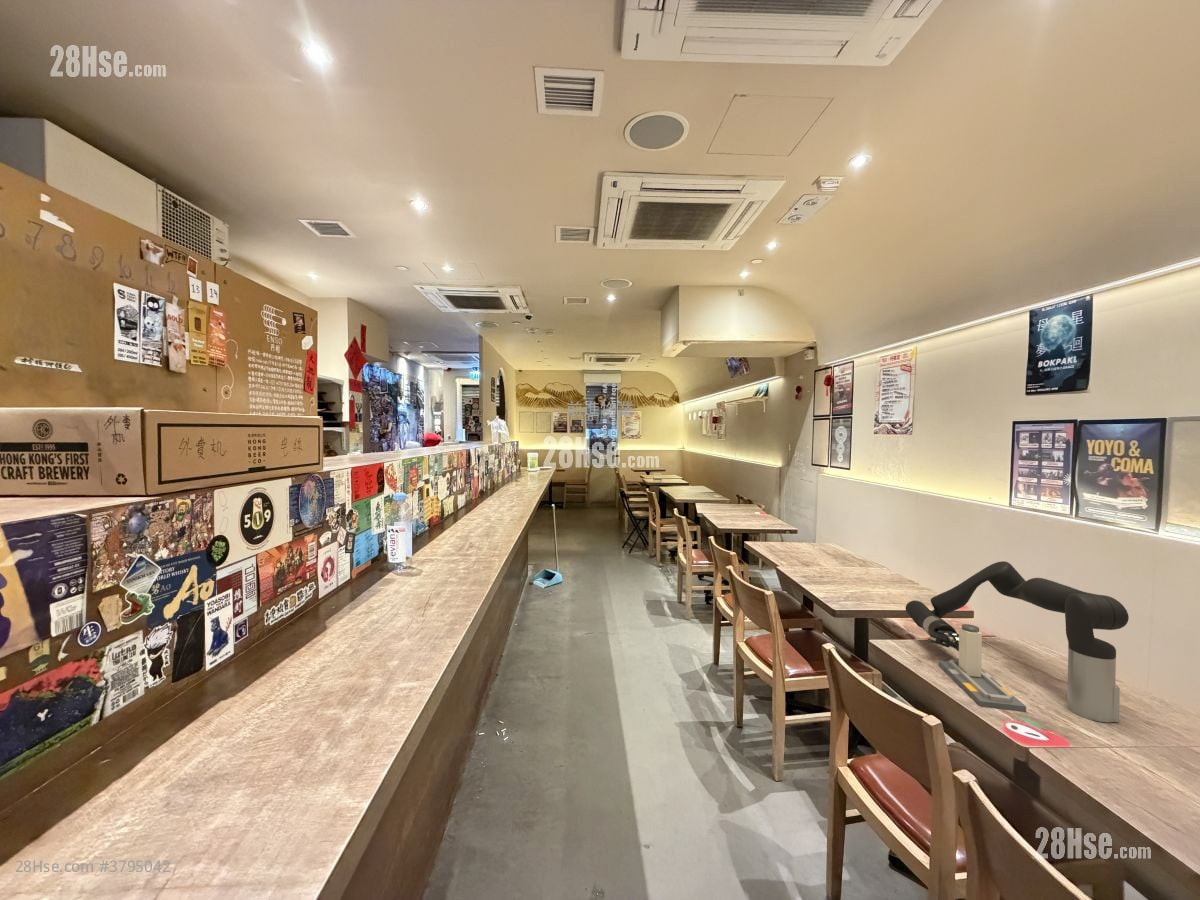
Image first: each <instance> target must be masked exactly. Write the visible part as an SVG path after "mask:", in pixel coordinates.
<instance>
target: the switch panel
mask: <svg viewBox="0 0 1200 900" xmlns="http://www.w3.org/2000/svg"><path fill="white" fill-rule="evenodd" d="M938 666H939V667H940V668H941V669H942V670H943V671H944V672H945V673H946V674H947V675H948V676H949V677H950V678H951V679H952V680H953V681H954V682H955V683H957V685H958V686H959V687H960V688H961V689H962V690H963V691H964V692H966V694H967V695H969V696H970V698H971V699H972V700H973V701H974V702H975V703H976V704H977V705H978V706H979V707H982V708H991V709H998V710H1000V709H1001V710H1008V711H1016V712H1025V713H1026V712H1027V705H1025V704H1024V703H1023V702H1021V701H1020V700H1019V699H1018V698H1017V697H1016V696H1014V694H1013V693H1011V692H1010V691H1009V690H1008V689H1007V688H1005V687H1004V686H1003V685H1001V684H1000V683H999V682H998V681H997V680H996V679H994V678H993V677H992V676H991V675H990V674H989V673H987V671H985V670H983V668H981V677H974V676H968V675H967V674H966V673H965V672H964V671H963V670H962V669H961V668H959V659H948V660H947V661H946V660H938Z"/></svg>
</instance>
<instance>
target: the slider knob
mask: <svg viewBox="0 0 1200 900" xmlns="http://www.w3.org/2000/svg"><path fill="white" fill-rule="evenodd" d="M958 634H959V651H958V660H959V668H961V669H962V670H963V671H964V672H965V673H966V674H967V675H968V676H974V677H981V669H982V657H983V655H982V653H983V652H982V650H983V648H982V647H983V646H982V645H983V642H982V640H983V633H982V632H981V631H980V627H978V626H977V625H973V624H969V623H968V624H967V623H965V624H964V623H962V624H961V626H960V625H959V626H958Z"/></svg>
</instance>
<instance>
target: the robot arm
mask: <svg viewBox="0 0 1200 900" xmlns="http://www.w3.org/2000/svg"><path fill="white" fill-rule="evenodd" d="M986 582H989V583H990V584H991V586H993V588H994V589H995V590H996V591H997V592H998V593H999V594H1000V595H1003V596H1006V597H1009V598H1013V599H1017V600H1021V601H1024V602H1025V603H1026V602H1027V603H1029V604H1032V605H1034V606H1037V607H1039V608H1041V609H1043V610H1047V611H1051V612H1056V613H1059V614H1060V613H1061V614H1064V617H1065V618H1064V619H1065V635H1066V638H1067V639H1066V640H1067V643H1068V645H1067V647H1068V648H1067V649H1068V650H1067V655H1068V656H1067V699H1066V701H1067V702H1066V703H1067V704H1066V705H1067V709H1068V710H1069V711H1070V712H1072V713H1074V714H1076V715H1078V716H1079V717H1082V718H1086V719H1087V720H1091V721H1096V722H1099V723H1120V700H1121V699H1120V698H1121V697H1120V694H1121V692H1120V691H1121V689H1120V688H1121V687H1120V686H1119V685H1117V683H1116V682H1117V681H1116V680H1117V679H1116V676H1117V675H1116V672H1117V671H1116V670H1117V669H1116V667H1117V666H1116V665H1117V663H1116V662H1117V649H1116V647H1115V646H1114V645H1113V644H1112V643H1109V642H1108V641H1105V640H1102V639H1100V638H1098V637H1095V636H1094V635H1095V633H1094V630H1102V631H1103V630H1105V631H1116V630H1119V629H1122V628H1124V627H1126V626H1127V624H1128V622H1129V618H1130V617H1129V613H1128V610H1127V609H1126V607H1125V606H1124V605H1123V603H1121V602H1120V601H1118V600H1117V599H1115V598H1114V597H1112V596H1109V595H1103V594H1097V593H1091V592H1087V591H1082V590H1079V589H1077V588H1074V587H1071V586H1068V585H1066V584H1062V583H1059V582H1057V581H1053V580H1050V579H1047V578H1043V577H1033V578H1029V579H1028V580H1025V579H1024V577H1023V576H1022V575H1021V574H1020V573H1019V572H1018V570H1017V569H1015V567H1014V566H1013V565H1012V564H1011V563H1010V562H1008V561H1003V560H1002V561H997V562H994V563H991V564H990V565H988V566H985V568H982V569H981V570H980V571H977V572H976V573H974V574H973V575H972V576H970V577H968V578H967V579H964V580H963V581H962V582H960V583H959V584H957V585H955V586H953V587H952V588H950V589H948V590H946V591H944V592H941V593H939V594H937V595H935V596H933V597H931V598H930V603H931V606H932V607H933V610H932V611H931V609H929V608H928V606H926V605H925V604H924V603H923V602H922V601H919V600H911V601H908V602H907V604H906V605H905V612H906V614H907V615H908V616H909V617H910V618H911V620H912V621H913V622H914V624H916V626H918V627H919V628H921V629H922V630H924V631H925V632H926V634H927V635H928V636H929V638H930V640H929V641H930V642H932V643H934V644H937V645H939V646H941V647H945V648H951V649H954V650H956V651H958V652H959V633H958V632H957V631H956V629H955V628H954V627H953V626H952V625H950V623H948V622H946V620H945V619H942V618H944V617H945V616H946V615H948V614H950V613H952V612H955V611H957V610H960V609H961V608H963V607H964V606H966V605H967V604H968V602H969V601H970V599H971V598H972V596H973V595H974V593H975V591H976V590H977V588H978V587H979V586H981V585H982V584H984V583H986Z"/></svg>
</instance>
